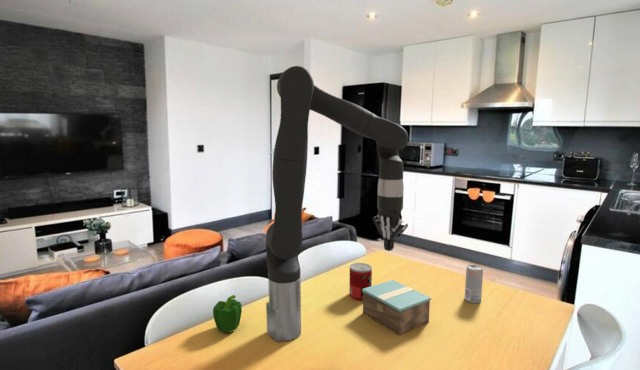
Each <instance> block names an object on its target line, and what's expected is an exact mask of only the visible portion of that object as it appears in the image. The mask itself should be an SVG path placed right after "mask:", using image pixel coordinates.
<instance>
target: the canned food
mask: <svg viewBox="0 0 640 370" xmlns="http://www.w3.org/2000/svg"><path fill="white" fill-rule="evenodd" d="M372 280H373V268H372V266H371V265H370V264H368V263H364V262H355V263H354V262H353V263H352V264H350V265H349V296H350V297H351V298H352V299H353V298H354V299H353V300H356V301H363V293H364V292H363V291H362V289H364V288H367V287H371V286H373V283H372Z"/></svg>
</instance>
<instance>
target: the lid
mask: <svg viewBox="0 0 640 370" xmlns="http://www.w3.org/2000/svg"><path fill="white" fill-rule="evenodd" d="M362 291H363V292H365V293H366V294H368V295H370V296H372V297H374V298H376V299H377V300H379V301H381V302H383V303H385V304H387V305H389V306H390V307H392V308H394V309H396V310H398V311H400V312H401V311H403V310H406V309H409V308H411V307H414V306H417V305H419V304H422V303H425V302H427V301H430V302H431V300H432V297H431V296H428V295H426V294H424V293H422V292H421V291H417V290H415V289H414V288H412V287H409V286H406V285H404V284H403V283H401V282H398V281H395V280H393V279H390V280H387V281H384V282H381V283H377V284H374V285H372V286H371V287H367V288H364V289H362Z"/></svg>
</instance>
